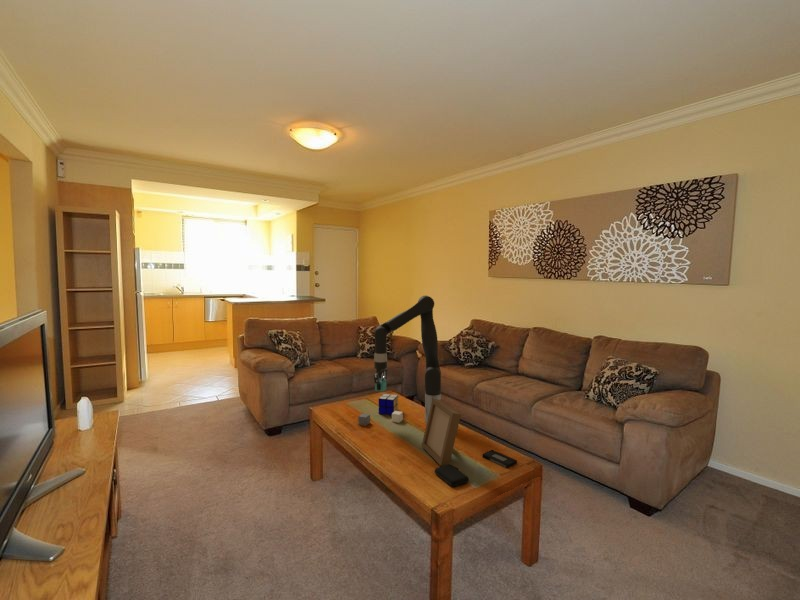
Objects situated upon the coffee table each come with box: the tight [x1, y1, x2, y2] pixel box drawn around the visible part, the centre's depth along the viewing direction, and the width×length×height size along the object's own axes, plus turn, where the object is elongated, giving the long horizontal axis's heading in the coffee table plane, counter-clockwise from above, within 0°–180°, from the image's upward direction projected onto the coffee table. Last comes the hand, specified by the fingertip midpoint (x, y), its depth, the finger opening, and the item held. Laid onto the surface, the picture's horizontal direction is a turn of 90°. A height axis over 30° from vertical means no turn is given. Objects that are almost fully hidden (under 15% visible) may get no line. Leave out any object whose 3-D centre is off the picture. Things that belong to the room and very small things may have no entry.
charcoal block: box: [357, 413, 371, 427], centre depth 232 cm, size 5×5×5 cm
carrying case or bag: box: [434, 464, 470, 488], centre depth 172 cm, size 11×3×15 cm
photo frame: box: [421, 399, 462, 467], centre depth 192 cm, size 15×22×25 cm
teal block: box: [374, 380, 387, 392], centre depth 233 cm, size 5×5×5 cm
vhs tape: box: [482, 449, 518, 469], centre depth 188 cm, size 8×14×2 cm, turn 39°
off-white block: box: [391, 410, 404, 424], centre depth 237 cm, size 5×5×5 cm
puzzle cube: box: [378, 393, 399, 416], centre depth 251 cm, size 10×10×10 cm
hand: (380, 388), depth 233 cm, fingers closed on teal block, 5 cm apart
